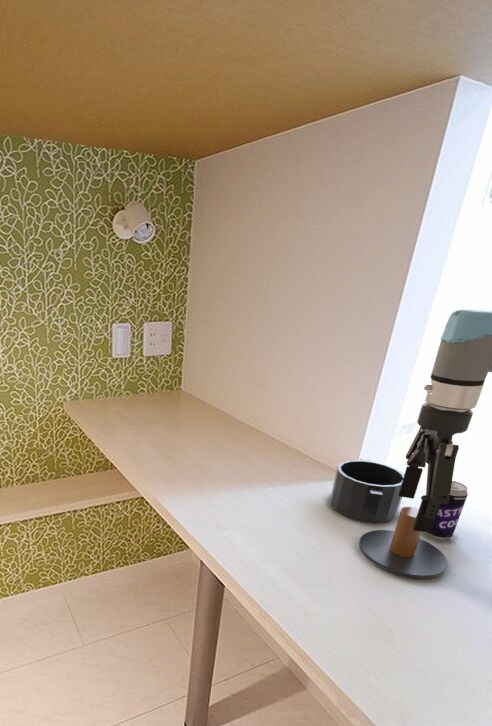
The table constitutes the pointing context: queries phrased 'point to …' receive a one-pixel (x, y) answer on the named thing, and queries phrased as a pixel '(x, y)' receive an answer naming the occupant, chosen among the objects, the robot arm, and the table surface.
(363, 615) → the table surface
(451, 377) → the robot arm
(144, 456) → the table surface
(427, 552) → the tin lid
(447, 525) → the beverage can
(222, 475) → the table surface
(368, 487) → the tin
